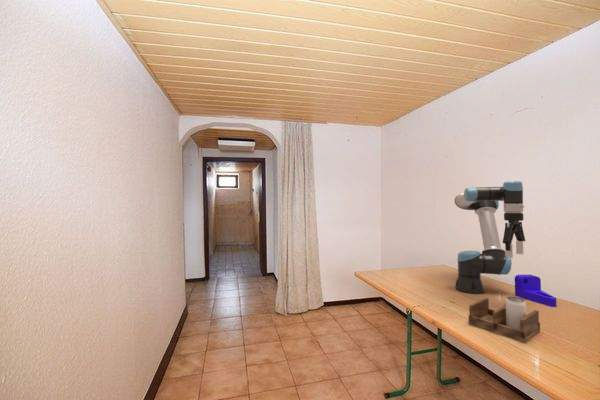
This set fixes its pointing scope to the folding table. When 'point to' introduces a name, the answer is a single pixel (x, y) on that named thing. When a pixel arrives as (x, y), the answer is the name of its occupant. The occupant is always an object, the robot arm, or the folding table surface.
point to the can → (515, 312)
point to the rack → (503, 321)
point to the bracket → (532, 290)
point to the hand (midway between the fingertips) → (514, 255)
